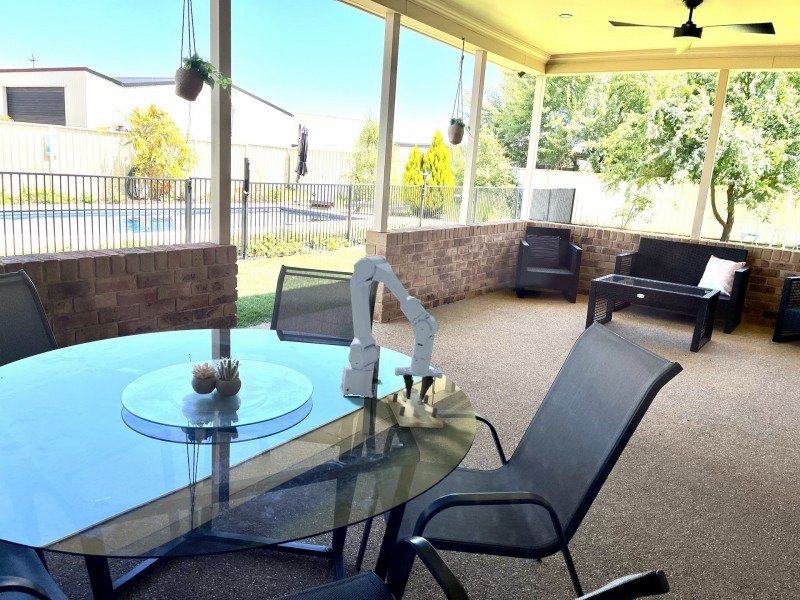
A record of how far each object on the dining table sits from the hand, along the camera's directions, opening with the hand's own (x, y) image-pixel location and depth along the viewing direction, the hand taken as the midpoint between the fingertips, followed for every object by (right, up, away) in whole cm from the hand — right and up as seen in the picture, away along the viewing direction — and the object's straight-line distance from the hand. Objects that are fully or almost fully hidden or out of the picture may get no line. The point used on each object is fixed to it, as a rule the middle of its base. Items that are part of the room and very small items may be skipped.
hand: (414, 398), depth 177 cm
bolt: (-18, +4, +30) cm, 35 cm away
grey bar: (-1, -3, +1) cm, 3 cm away
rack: (0, -4, 0) cm, 4 cm away
